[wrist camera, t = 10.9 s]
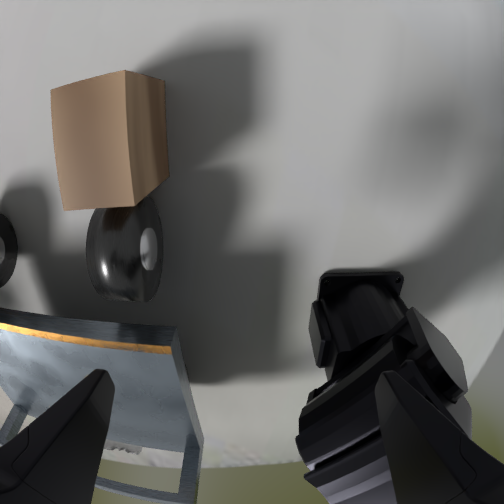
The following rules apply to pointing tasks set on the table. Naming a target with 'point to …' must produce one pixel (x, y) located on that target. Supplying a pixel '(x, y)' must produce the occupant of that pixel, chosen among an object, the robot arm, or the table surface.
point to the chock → (109, 139)
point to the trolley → (107, 350)
